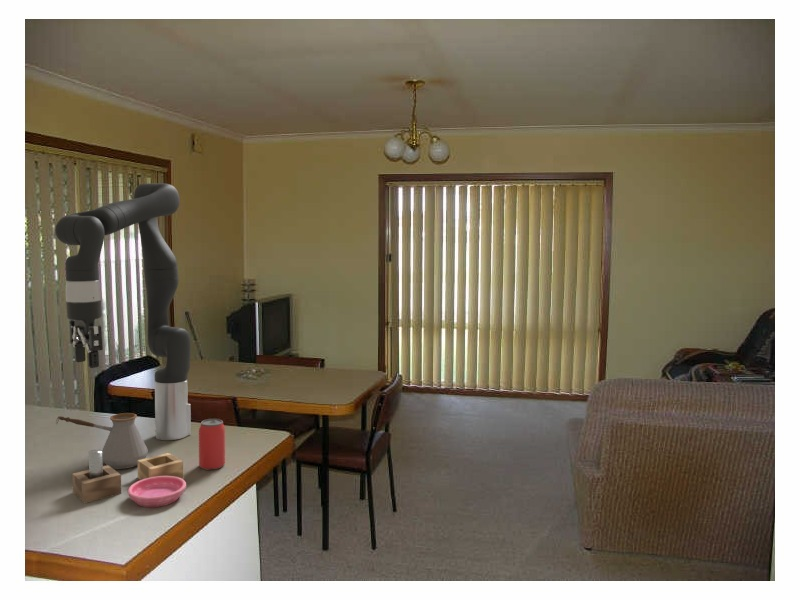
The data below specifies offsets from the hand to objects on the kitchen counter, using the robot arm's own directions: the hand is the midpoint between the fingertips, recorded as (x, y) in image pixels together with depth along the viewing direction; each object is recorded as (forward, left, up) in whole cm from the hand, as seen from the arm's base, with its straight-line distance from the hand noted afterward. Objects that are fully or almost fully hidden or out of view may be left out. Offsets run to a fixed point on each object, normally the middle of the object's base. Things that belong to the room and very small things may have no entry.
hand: (86, 364), depth 148 cm
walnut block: (+2, +11, -29) cm, 31 cm away
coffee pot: (-5, -4, -29) cm, 29 cm away
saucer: (-7, +23, -29) cm, 38 cm away
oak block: (-12, +12, -29) cm, 34 cm away
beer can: (-26, +13, -29) cm, 41 cm away
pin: (+2, +11, -29) cm, 31 cm away
